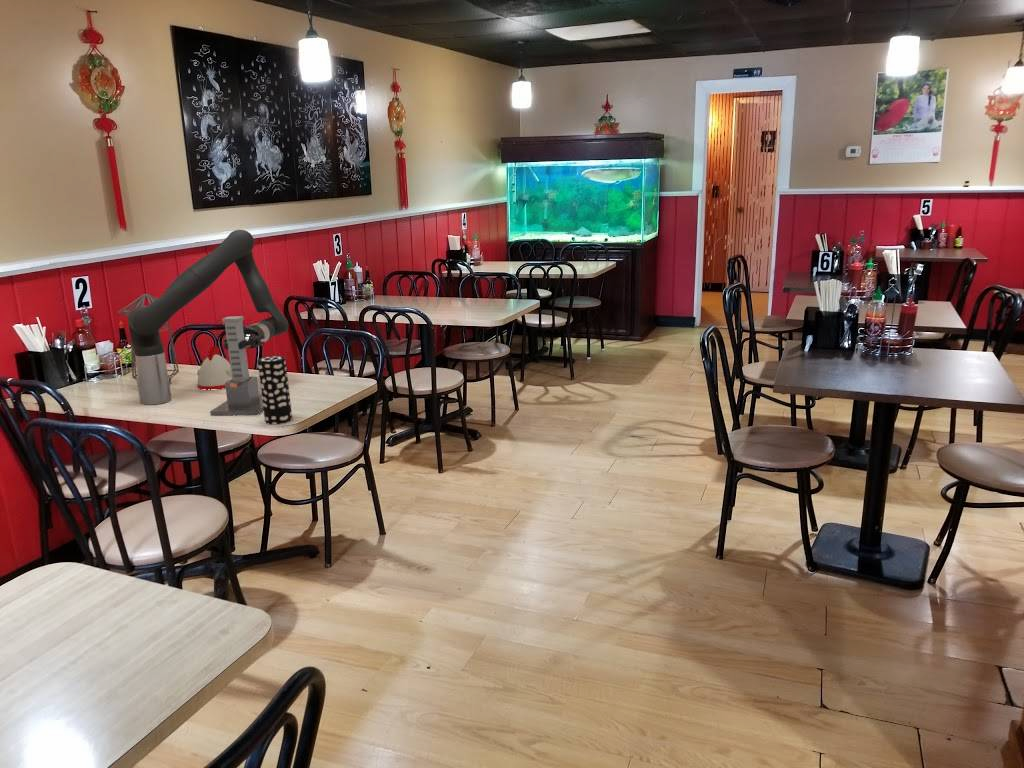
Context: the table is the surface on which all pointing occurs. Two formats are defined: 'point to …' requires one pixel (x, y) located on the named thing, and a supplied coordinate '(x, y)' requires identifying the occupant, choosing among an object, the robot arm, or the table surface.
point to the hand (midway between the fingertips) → (232, 346)
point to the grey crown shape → (214, 371)
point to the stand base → (240, 399)
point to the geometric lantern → (150, 299)
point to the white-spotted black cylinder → (274, 389)
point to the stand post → (236, 348)
